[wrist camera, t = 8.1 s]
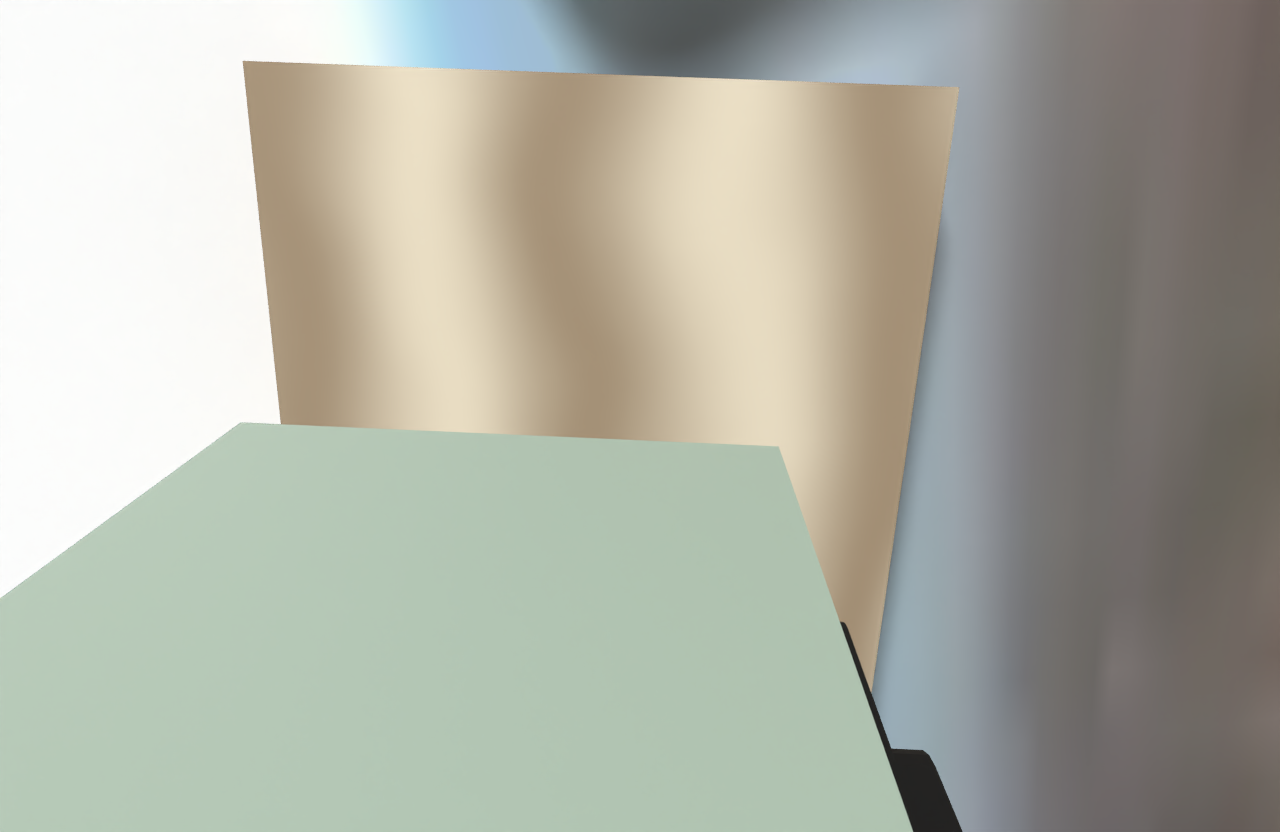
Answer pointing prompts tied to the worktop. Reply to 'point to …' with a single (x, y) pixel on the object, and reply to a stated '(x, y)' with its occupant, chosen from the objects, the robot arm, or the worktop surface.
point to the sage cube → (441, 647)
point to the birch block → (613, 269)
